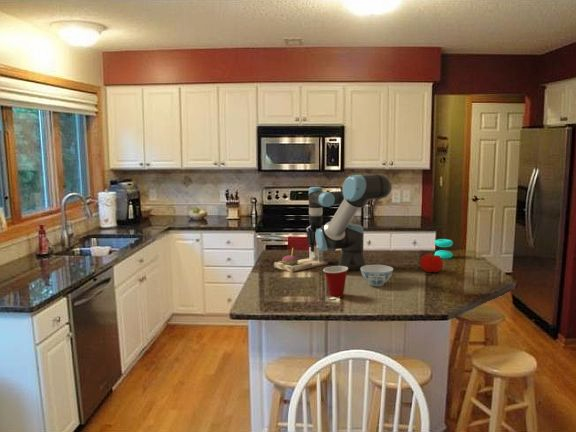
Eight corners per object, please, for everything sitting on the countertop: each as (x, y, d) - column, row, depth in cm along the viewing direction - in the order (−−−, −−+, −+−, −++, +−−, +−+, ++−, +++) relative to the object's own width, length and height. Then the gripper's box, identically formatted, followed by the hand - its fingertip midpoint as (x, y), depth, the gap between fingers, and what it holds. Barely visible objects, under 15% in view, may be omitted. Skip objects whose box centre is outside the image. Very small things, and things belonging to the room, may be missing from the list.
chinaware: (386, 290, 220) (386, 273, 219) (355, 286, 228) (355, 269, 227) (397, 282, 233) (398, 266, 232) (368, 278, 241) (368, 263, 240)
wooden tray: (328, 264, 272) (328, 249, 271) (291, 272, 256) (291, 256, 255) (309, 259, 284) (309, 245, 282) (274, 267, 267) (273, 252, 266)
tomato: (443, 274, 247) (443, 257, 246) (420, 273, 249) (421, 256, 248) (441, 269, 257) (441, 253, 256) (419, 268, 259) (419, 252, 258)
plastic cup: (321, 292, 220) (321, 265, 218) (345, 291, 221) (345, 264, 219) (325, 299, 209) (325, 271, 208) (350, 298, 210) (350, 270, 208)
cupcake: (300, 267, 266) (300, 245, 265) (293, 271, 259) (293, 248, 257) (286, 266, 270) (286, 244, 269) (279, 269, 263) (278, 247, 261)
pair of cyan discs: (431, 239, 286) (442, 238, 291) (430, 256, 287) (442, 254, 293) (445, 242, 278) (456, 240, 283) (444, 259, 279) (456, 257, 285)
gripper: (321, 213, 281) (321, 253, 284) (300, 215, 271) (300, 257, 274) (330, 214, 275) (331, 255, 278) (309, 217, 265) (309, 260, 268)
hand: (316, 256), depth 276 cm, fingers closed on wooden tray, 3 cm apart
